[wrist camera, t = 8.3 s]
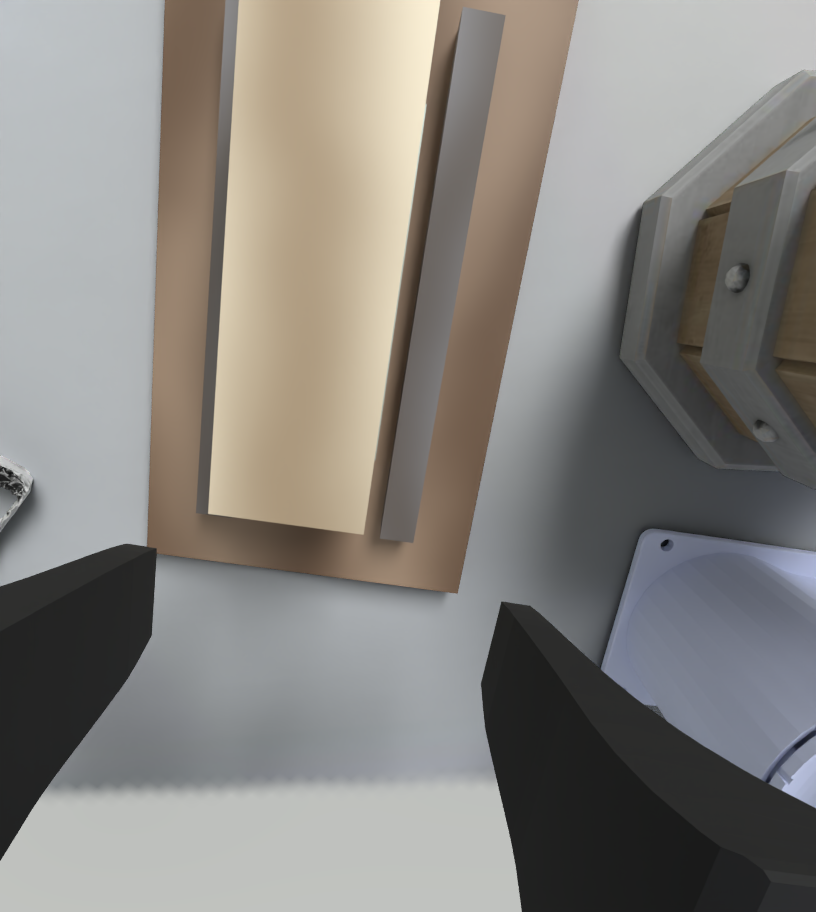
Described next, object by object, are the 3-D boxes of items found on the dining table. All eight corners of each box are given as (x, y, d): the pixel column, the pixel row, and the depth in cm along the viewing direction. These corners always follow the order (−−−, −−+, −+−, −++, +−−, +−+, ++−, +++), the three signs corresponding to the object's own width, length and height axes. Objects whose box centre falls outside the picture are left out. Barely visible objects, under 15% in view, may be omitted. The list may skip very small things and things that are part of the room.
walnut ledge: (575, -22, 17) (605, -79, 14) (454, 578, 23) (461, 613, 20) (185, -102, 16) (147, -176, 14) (160, 539, 22) (129, 569, 19)
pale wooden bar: (427, 98, 17) (443, -11, 11) (374, 467, 20) (364, 534, 14) (295, 73, 16) (240, -51, 11) (263, 451, 20) (206, 513, 14)
